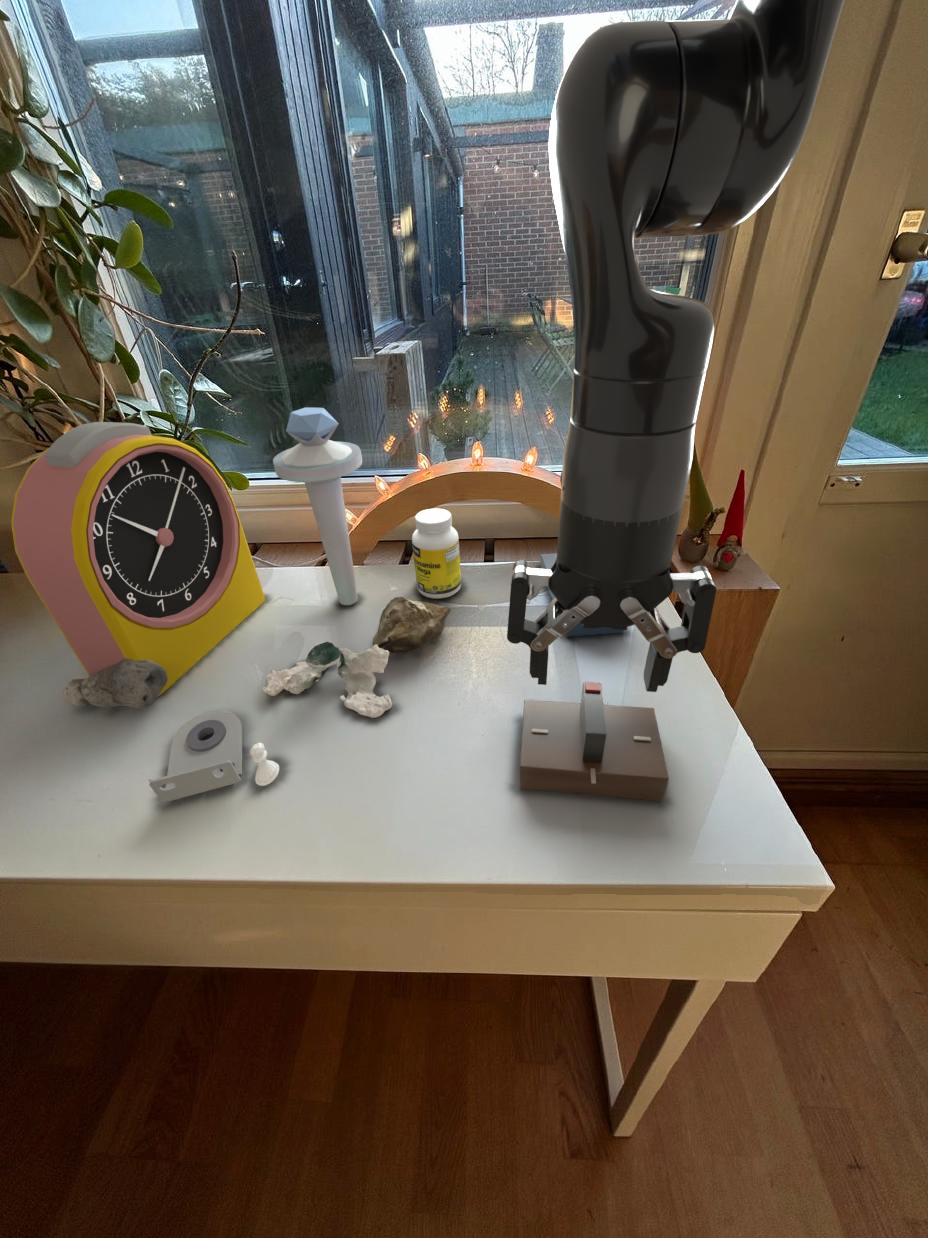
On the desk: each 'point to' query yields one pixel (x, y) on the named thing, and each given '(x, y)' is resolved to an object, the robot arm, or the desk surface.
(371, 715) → the rock
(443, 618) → the fossilized seashell
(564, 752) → the panel
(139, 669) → the stone
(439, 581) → the pill bottle
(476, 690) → the desk surface
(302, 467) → the novelty light stick
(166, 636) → the alarm clock
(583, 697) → the red-tipped grey bar
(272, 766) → the chess pawn
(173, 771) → the bracket
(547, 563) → the button box
